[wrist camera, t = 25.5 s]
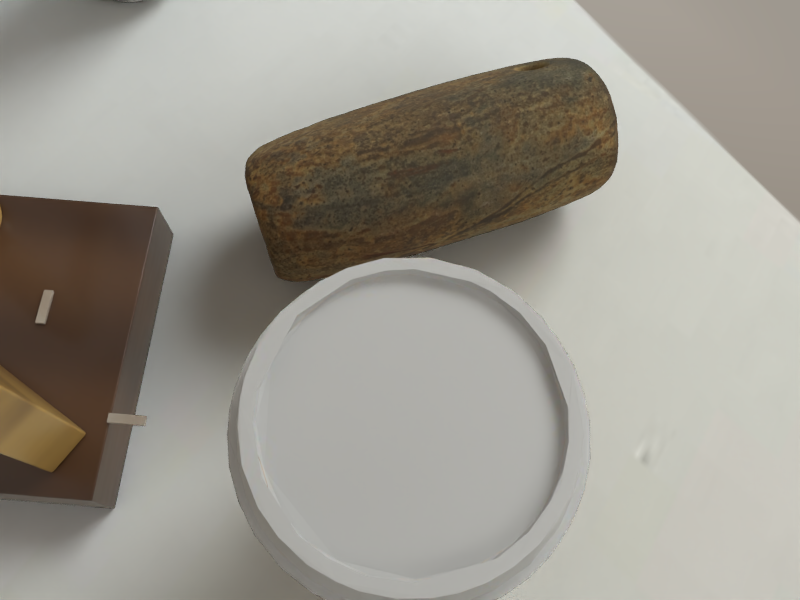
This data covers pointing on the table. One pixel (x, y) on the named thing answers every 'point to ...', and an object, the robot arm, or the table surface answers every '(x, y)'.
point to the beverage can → (128, 0)
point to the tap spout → (0, 215)
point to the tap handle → (33, 426)
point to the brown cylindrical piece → (432, 167)
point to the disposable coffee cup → (409, 435)
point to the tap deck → (79, 331)
